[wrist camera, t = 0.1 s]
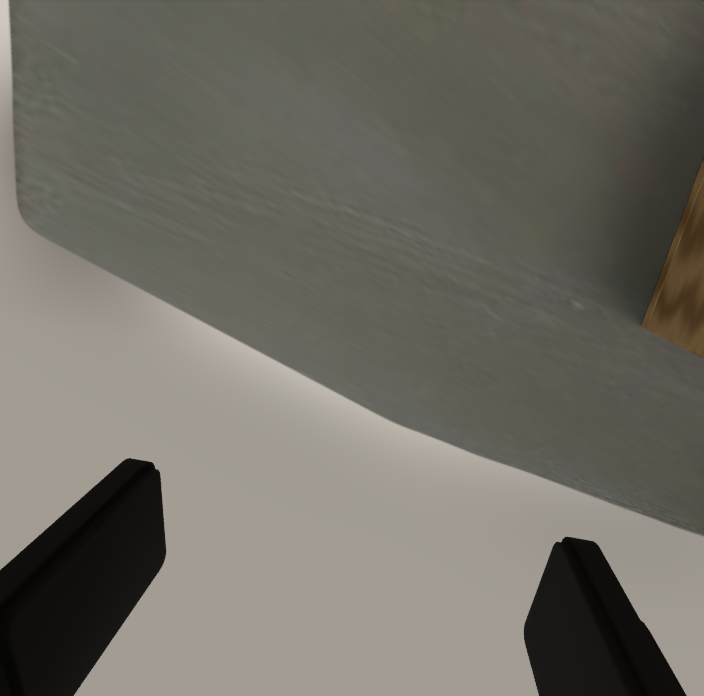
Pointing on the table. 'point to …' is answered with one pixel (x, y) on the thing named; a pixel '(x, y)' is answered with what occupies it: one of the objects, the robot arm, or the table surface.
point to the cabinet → (683, 280)
